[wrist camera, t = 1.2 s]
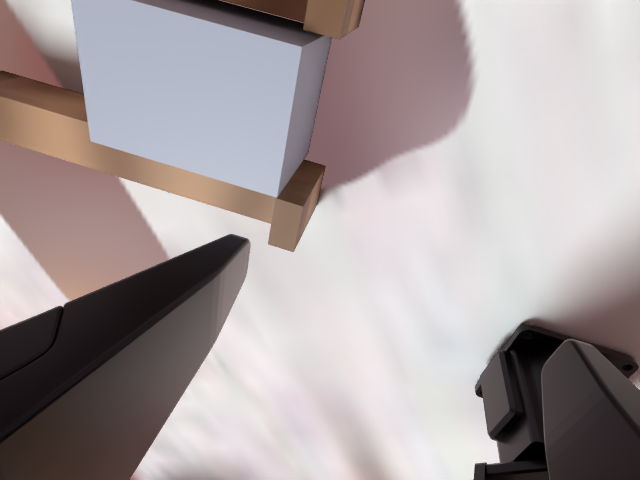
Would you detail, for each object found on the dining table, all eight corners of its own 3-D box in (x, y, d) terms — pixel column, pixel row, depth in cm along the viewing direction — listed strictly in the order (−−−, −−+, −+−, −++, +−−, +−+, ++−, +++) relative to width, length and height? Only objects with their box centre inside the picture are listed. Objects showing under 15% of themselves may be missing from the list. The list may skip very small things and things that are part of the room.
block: (332, 31, 16) (302, 47, 12) (308, 152, 19) (276, 197, 15) (155, -17, 17) (68, -18, 13) (159, 109, 20) (90, 141, 16)
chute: (375, -44, 15) (358, -54, 11) (316, 206, 21) (293, 252, 17) (-54, -154, 16) (-194, -194, 12) (13, 114, 22) (-67, 139, 19)
